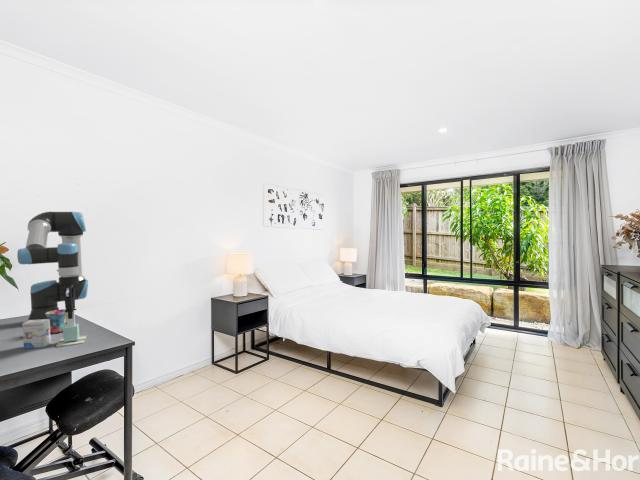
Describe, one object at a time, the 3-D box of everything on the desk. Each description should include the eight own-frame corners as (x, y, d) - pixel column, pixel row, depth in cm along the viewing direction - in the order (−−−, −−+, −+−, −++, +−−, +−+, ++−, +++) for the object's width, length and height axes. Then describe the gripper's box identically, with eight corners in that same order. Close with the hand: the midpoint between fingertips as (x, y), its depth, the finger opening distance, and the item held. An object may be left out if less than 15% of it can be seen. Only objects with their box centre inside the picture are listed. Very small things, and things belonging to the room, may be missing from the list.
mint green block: (79, 336, 154) (78, 323, 154) (77, 340, 149) (76, 326, 149) (65, 338, 151) (65, 325, 151) (63, 342, 147) (63, 328, 147)
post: (61, 339, 153) (60, 325, 153) (86, 335, 158) (86, 322, 158) (55, 347, 143) (54, 332, 142) (83, 343, 148) (82, 328, 147)
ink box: (22, 349, 141) (21, 323, 141) (29, 345, 146) (28, 320, 146) (45, 347, 144) (44, 321, 143) (51, 343, 149) (50, 318, 148)
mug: (45, 335, 159) (44, 315, 159) (46, 331, 166) (45, 311, 166) (75, 330, 167) (74, 310, 166) (75, 326, 174) (74, 307, 173)
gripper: (61, 274, 153) (64, 322, 154) (55, 278, 142) (58, 330, 143) (80, 273, 157) (83, 320, 158) (76, 276, 145) (78, 327, 146)
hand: (71, 324), depth 150 cm, fingers closed
